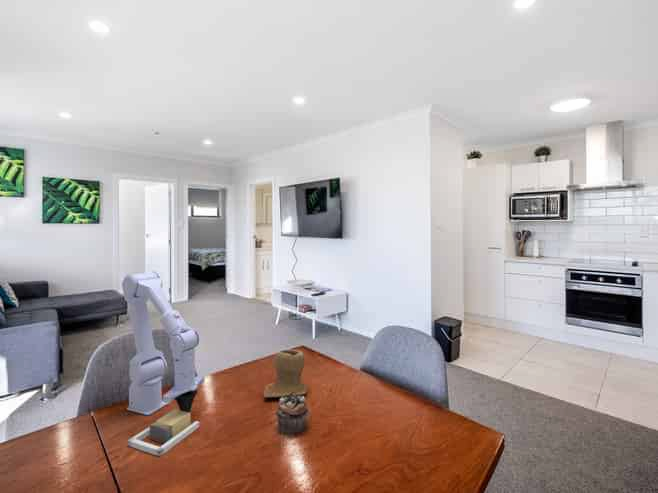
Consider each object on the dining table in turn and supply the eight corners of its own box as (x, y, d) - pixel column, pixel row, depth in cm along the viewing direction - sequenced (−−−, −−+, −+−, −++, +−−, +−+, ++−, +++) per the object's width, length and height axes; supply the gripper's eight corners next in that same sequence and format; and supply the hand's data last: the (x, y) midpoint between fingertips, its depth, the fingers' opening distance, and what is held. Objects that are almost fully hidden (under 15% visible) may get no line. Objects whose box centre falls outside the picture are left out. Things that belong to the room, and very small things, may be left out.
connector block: (150, 438, 96) (149, 424, 95) (175, 421, 104) (174, 408, 104) (166, 443, 93) (166, 429, 93) (190, 426, 102) (190, 413, 102)
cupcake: (314, 423, 104) (314, 391, 103) (295, 440, 95) (295, 405, 95) (289, 414, 109) (289, 383, 108) (268, 429, 100) (268, 396, 100)
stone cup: (304, 383, 130) (304, 344, 130) (308, 399, 119) (308, 356, 118) (264, 386, 128) (264, 347, 127) (263, 402, 116) (263, 359, 115)
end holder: (127, 445, 92) (127, 440, 92) (169, 418, 106) (169, 414, 105) (159, 456, 88) (159, 450, 88) (199, 426, 101) (199, 421, 101)
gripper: (176, 383, 95) (177, 430, 96) (212, 364, 108) (212, 405, 109) (157, 378, 97) (158, 425, 98) (194, 360, 111) (194, 401, 112)
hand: (185, 414), depth 104 cm, fingers closed
